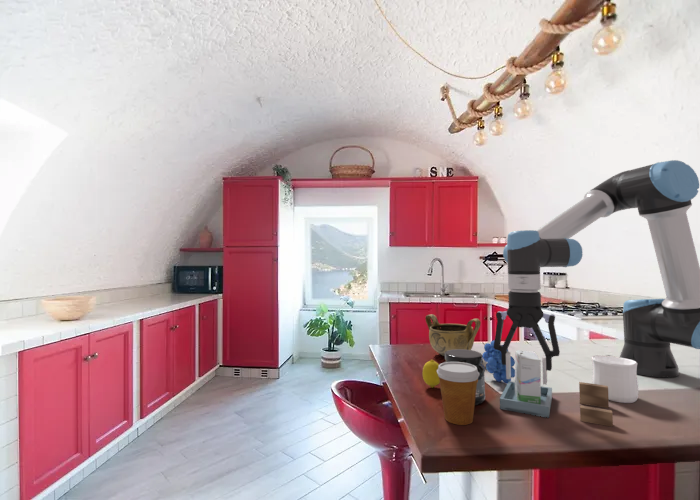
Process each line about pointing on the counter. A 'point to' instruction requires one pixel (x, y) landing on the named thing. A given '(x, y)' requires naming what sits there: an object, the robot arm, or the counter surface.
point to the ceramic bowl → (451, 335)
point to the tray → (512, 404)
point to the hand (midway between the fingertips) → (526, 380)
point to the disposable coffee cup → (458, 391)
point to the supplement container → (474, 359)
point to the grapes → (497, 363)
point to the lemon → (431, 373)
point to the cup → (616, 377)
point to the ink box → (527, 377)
